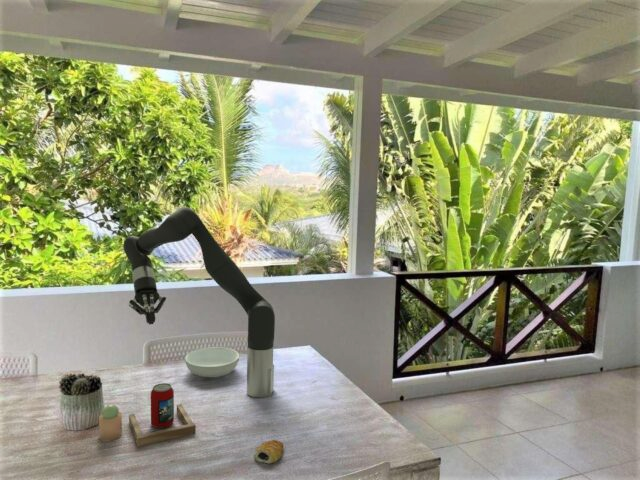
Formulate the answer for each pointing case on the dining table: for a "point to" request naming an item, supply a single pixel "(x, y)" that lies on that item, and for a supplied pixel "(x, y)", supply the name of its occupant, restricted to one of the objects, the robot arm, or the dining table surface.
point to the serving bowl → (212, 361)
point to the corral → (163, 434)
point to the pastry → (269, 451)
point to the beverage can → (162, 405)
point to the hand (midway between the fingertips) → (151, 323)
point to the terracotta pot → (110, 423)
